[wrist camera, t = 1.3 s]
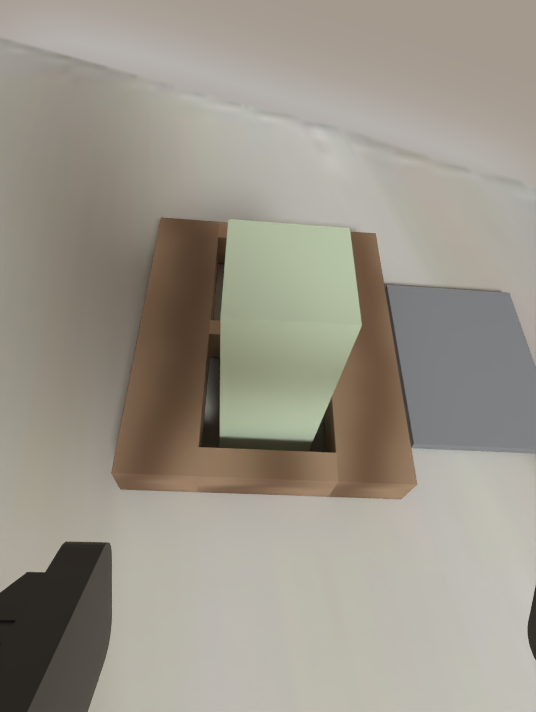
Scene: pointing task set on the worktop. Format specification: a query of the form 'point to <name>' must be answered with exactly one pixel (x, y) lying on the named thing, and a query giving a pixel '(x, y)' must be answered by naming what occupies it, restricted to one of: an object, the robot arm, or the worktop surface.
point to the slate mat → (463, 369)
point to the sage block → (283, 331)
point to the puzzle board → (190, 375)
